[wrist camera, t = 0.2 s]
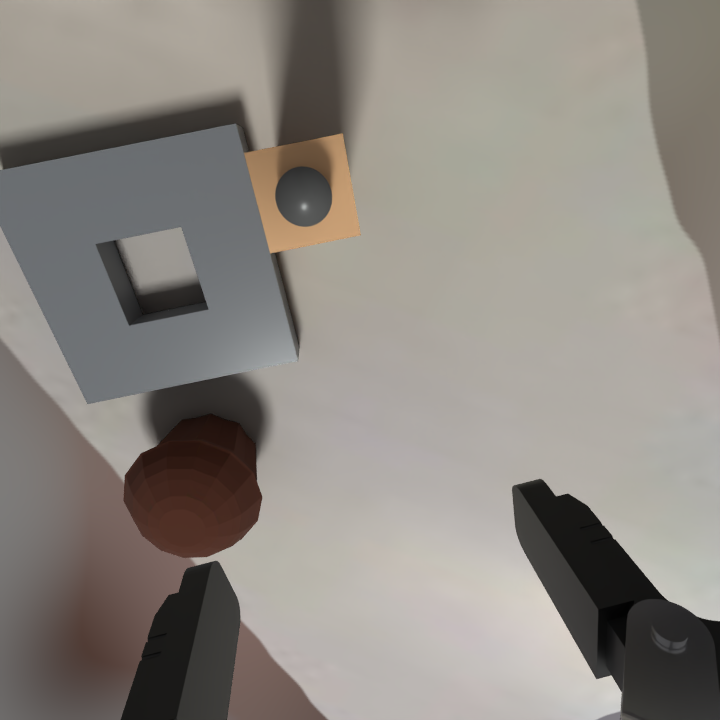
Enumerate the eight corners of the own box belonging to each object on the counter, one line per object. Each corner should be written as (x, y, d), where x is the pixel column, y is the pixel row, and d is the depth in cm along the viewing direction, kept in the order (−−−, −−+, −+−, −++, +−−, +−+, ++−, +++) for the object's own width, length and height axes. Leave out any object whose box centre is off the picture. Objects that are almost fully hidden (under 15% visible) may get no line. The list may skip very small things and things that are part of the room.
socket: (4, 175, 33) (-25, 175, 30) (242, 128, 33) (235, 123, 30) (103, 388, 40) (87, 404, 37) (299, 348, 40) (298, 361, 37)
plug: (276, 163, 34) (237, 151, 18) (332, 152, 34) (344, 129, 18) (289, 222, 36) (266, 259, 19) (343, 211, 36) (364, 239, 20)
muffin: (132, 414, 41) (78, 483, 32) (248, 389, 41) (228, 450, 32) (177, 511, 46) (142, 596, 36) (282, 489, 46) (273, 567, 36)
